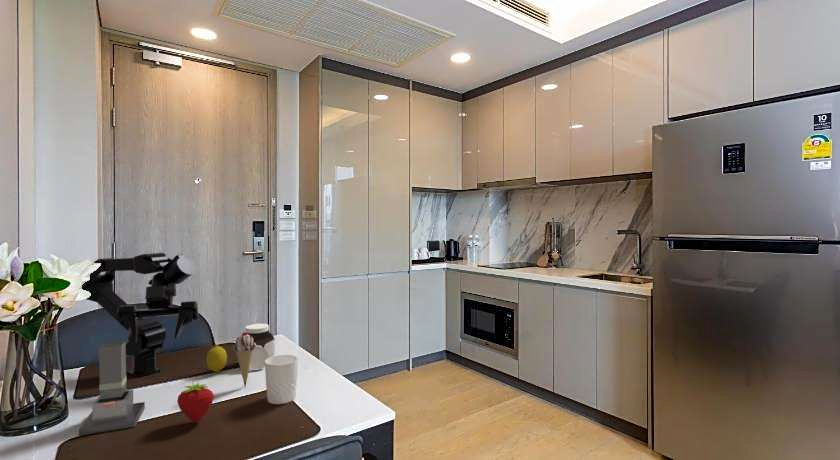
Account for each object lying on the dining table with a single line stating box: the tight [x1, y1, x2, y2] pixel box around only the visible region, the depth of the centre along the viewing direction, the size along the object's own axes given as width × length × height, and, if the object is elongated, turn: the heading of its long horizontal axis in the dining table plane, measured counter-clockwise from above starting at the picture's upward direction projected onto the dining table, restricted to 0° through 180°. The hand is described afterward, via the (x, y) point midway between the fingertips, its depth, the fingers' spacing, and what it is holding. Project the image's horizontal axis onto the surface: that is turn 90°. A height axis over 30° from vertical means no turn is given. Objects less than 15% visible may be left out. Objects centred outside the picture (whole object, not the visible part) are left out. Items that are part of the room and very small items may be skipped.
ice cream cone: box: [232, 331, 256, 388], centre depth 115 cm, size 6×6×15 cm
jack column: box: [98, 340, 127, 399], centre depth 96 cm, size 4×4×11 cm
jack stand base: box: [78, 389, 146, 437], centre depth 96 cm, size 10×10×6 cm
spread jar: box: [244, 323, 276, 371], centre depth 133 cm, size 12×11×12 cm
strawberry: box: [176, 379, 214, 424], centre depth 95 cm, size 6×8×10 cm
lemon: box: [206, 345, 228, 374], centre depth 127 cm, size 6×6×8 cm
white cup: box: [264, 354, 299, 405], centre depth 108 cm, size 8×8×10 cm
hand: (155, 340), depth 113 cm, fingers open, 9 cm apart
